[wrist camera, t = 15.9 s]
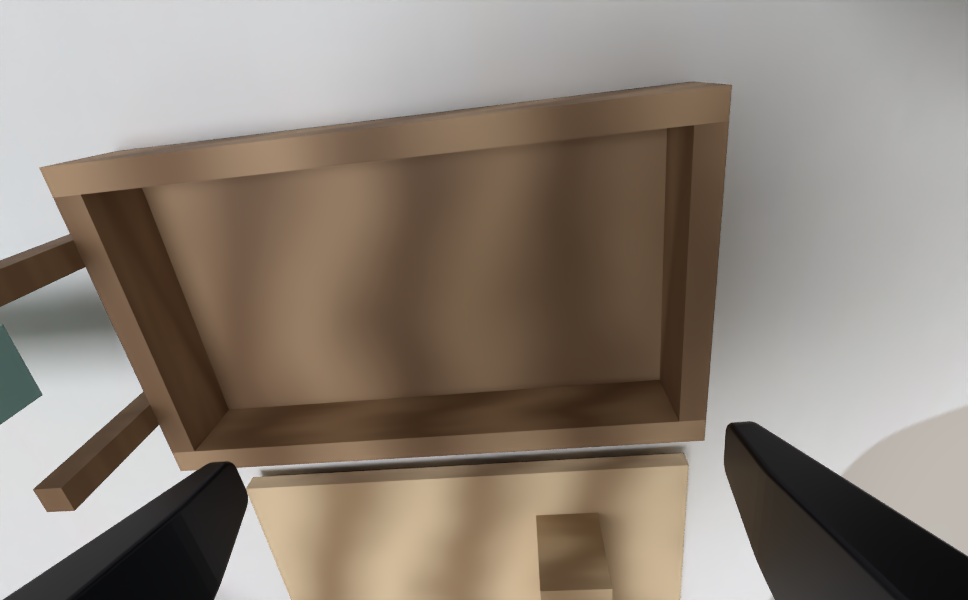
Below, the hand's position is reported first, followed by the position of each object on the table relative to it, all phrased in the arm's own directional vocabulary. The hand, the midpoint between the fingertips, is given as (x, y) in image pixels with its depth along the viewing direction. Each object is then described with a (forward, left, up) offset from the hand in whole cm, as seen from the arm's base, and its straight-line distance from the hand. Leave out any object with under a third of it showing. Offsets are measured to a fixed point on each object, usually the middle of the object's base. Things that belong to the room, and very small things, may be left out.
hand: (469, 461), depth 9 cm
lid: (+3, +17, -12) cm, 21 cm away
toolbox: (+3, +1, -13) cm, 13 cm away
